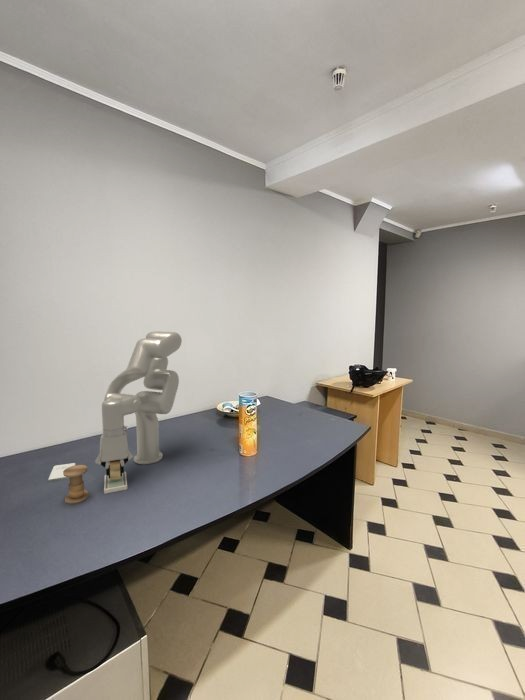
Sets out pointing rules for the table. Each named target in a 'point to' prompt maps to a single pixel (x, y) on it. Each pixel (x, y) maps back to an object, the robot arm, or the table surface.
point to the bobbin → (76, 484)
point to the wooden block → (115, 470)
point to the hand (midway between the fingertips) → (115, 475)
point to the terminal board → (115, 484)
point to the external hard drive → (59, 472)
